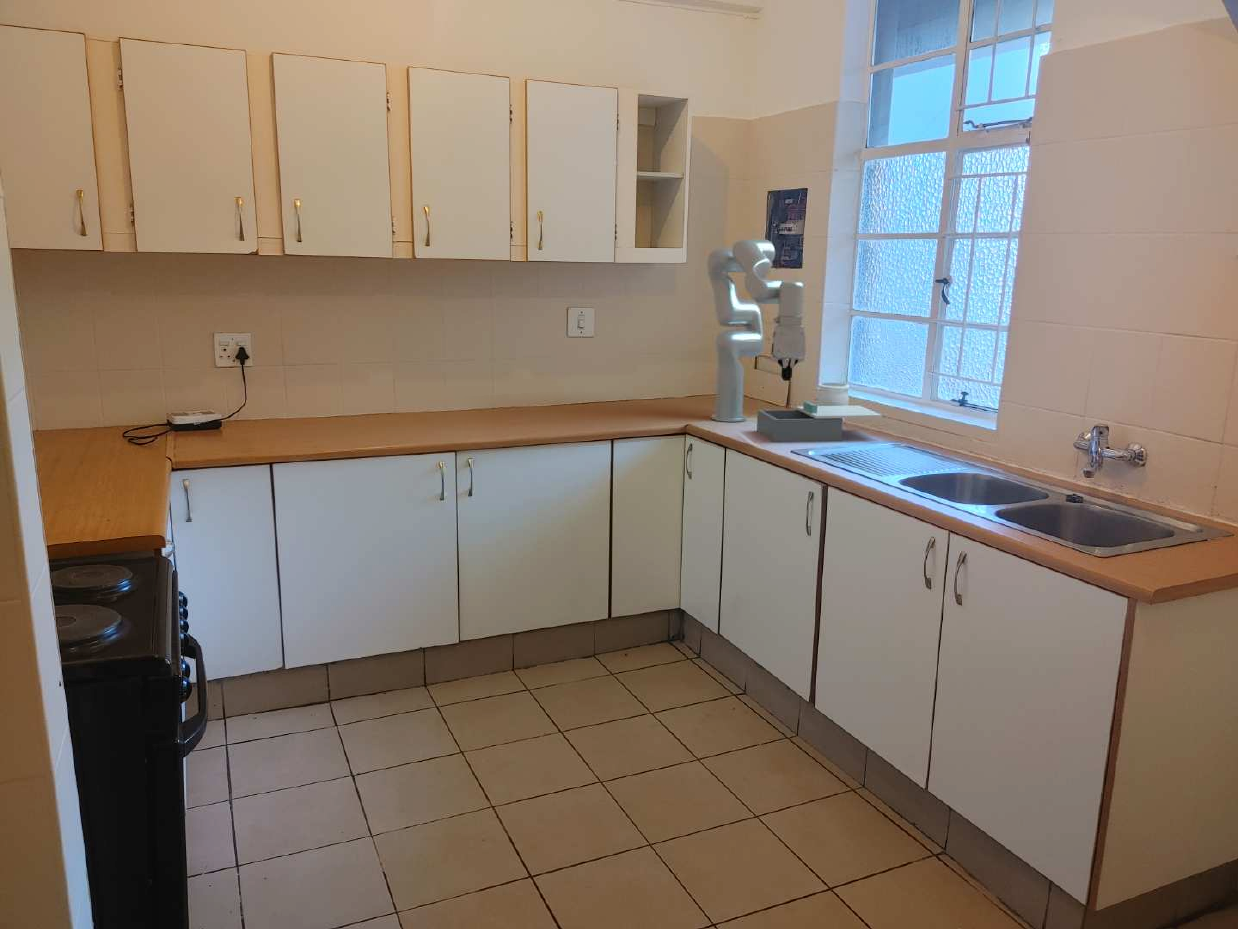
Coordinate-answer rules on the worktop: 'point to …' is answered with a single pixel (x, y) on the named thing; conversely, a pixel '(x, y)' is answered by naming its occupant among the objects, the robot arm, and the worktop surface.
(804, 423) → the storage box
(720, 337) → the robot arm
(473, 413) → the worktop surface
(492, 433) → the worktop surface
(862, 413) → the lid
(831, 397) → the jar
